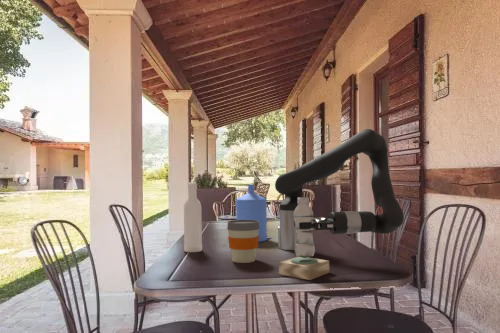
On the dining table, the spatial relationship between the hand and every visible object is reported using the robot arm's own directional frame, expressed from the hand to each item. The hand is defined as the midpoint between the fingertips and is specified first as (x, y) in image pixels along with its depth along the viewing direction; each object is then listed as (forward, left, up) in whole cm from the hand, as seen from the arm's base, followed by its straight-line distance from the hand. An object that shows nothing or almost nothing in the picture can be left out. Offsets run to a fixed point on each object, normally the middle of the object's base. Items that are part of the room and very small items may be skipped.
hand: (296, 224), depth 135 cm
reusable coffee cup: (-29, +5, -16) cm, 33 cm away
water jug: (-58, +43, -16) cm, 74 cm away
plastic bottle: (+2, +2, -11) cm, 11 cm away
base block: (+1, +2, -16) cm, 16 cm away
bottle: (-60, +6, -16) cm, 62 cm away
